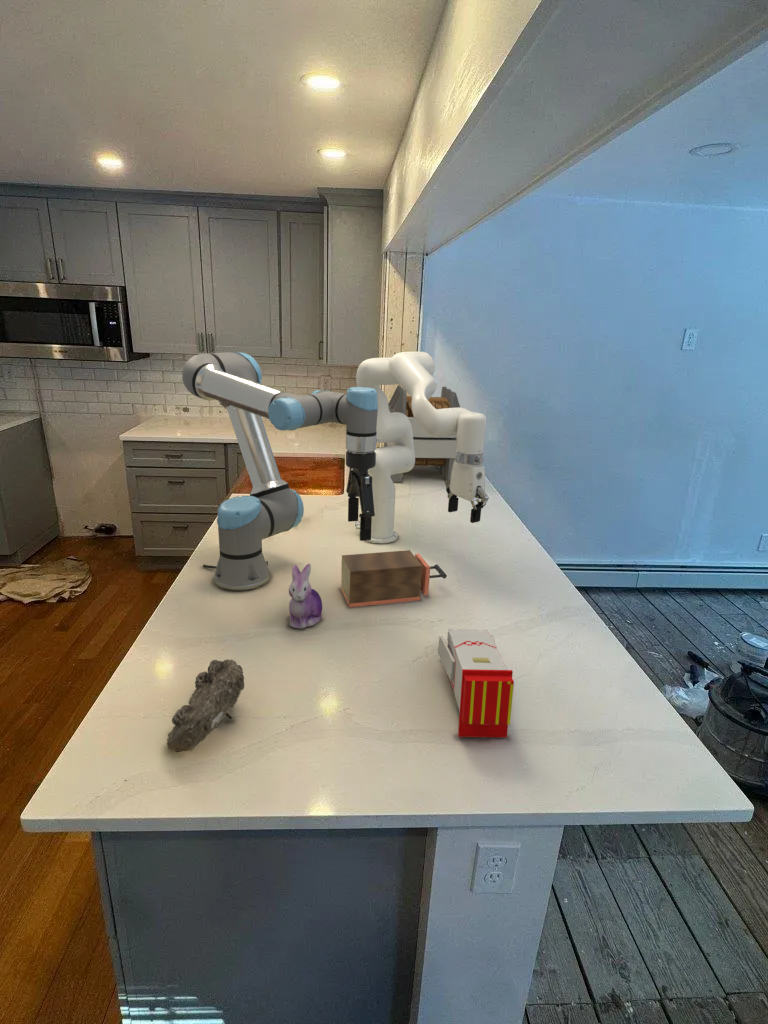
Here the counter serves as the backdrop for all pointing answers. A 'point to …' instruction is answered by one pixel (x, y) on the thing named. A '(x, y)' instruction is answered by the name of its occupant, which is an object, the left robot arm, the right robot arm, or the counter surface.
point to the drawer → (428, 574)
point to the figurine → (303, 600)
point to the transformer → (425, 445)
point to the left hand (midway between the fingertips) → (358, 530)
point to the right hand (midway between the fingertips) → (463, 516)
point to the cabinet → (380, 578)
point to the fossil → (206, 705)
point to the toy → (478, 682)
